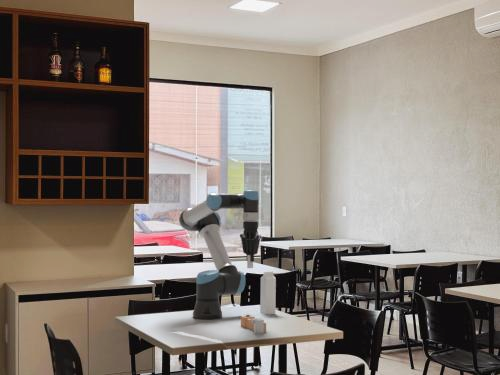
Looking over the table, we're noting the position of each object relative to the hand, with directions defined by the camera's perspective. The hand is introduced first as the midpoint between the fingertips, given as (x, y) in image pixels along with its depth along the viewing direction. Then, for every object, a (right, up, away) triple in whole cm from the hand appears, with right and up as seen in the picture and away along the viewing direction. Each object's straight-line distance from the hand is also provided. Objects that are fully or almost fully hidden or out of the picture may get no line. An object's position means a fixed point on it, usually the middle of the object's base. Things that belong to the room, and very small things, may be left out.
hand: (250, 267), depth 349 cm
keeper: (+3, -25, -35) cm, 43 cm away
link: (+2, -25, -26) cm, 36 cm away
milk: (+9, -27, +21) cm, 35 cm away
